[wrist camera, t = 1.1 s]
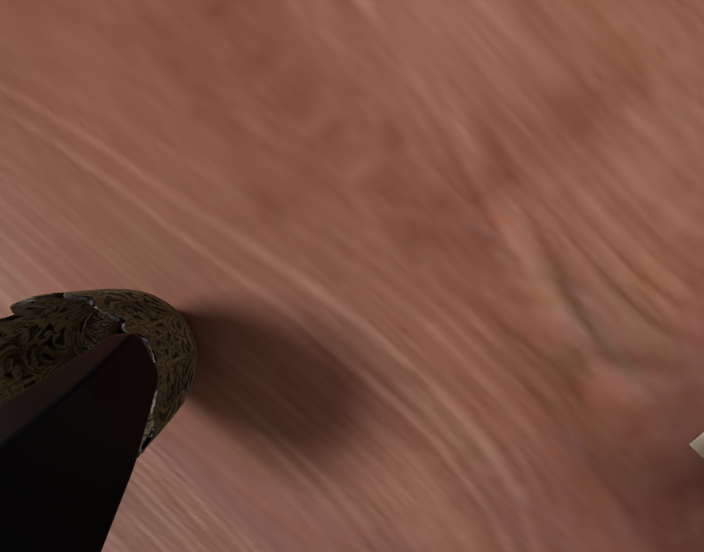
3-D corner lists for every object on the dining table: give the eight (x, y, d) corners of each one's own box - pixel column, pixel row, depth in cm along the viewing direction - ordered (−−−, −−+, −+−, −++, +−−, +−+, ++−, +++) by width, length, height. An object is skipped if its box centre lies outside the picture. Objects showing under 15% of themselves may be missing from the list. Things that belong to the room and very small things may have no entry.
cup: (259, 380, 27) (184, 454, 19) (139, 425, 28) (25, 511, 20) (199, 245, 26) (97, 264, 18) (81, 298, 28) (-60, 336, 20)
